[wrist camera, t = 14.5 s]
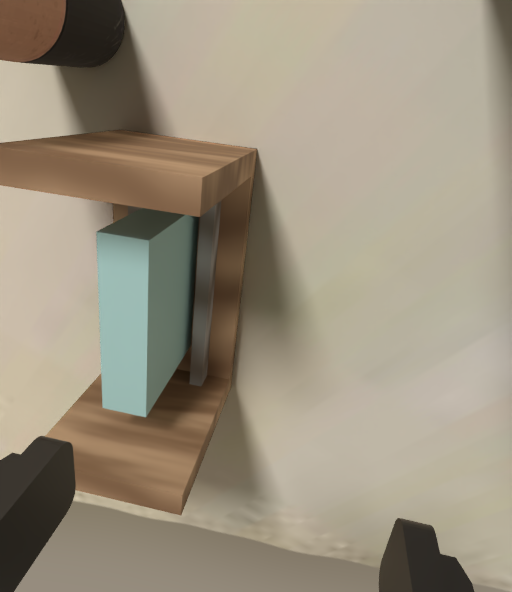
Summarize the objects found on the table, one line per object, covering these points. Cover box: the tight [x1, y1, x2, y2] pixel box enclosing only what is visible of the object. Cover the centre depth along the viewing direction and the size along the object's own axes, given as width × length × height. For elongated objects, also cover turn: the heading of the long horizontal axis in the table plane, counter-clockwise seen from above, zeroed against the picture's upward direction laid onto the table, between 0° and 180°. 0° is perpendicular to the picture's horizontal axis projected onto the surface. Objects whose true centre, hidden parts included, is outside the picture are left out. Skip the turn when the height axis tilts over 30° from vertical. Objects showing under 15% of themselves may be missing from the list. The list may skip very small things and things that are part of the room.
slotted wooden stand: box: [0, 130, 257, 515], centre depth 35 cm, size 24×12×16 cm, turn 173°
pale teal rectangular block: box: [97, 208, 199, 417], centre depth 36 cm, size 14×4×11 cm, turn 173°
